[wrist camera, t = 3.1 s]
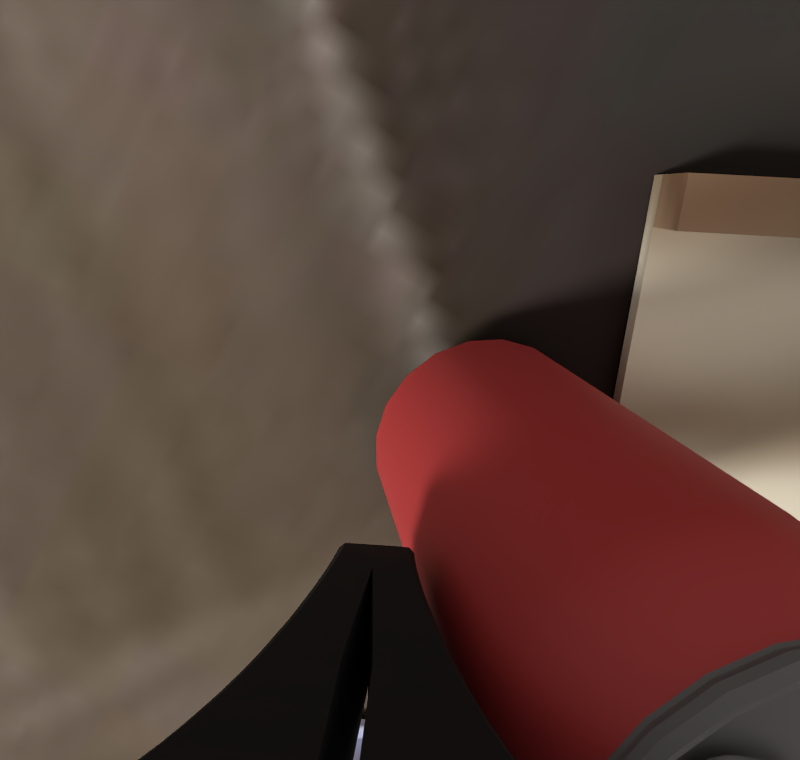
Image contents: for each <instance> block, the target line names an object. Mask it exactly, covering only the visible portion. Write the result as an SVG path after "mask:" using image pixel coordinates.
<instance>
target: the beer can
mask: <svg viewBox="0 0 800 760" xmlns="http://www.w3.org/2000/svg"><path fill="white" fill-rule="evenodd" d="M376 455H377V470H378V473H379V476H380V479H381V482H382V485H383V488H384V491H385V494H386V497H387V500H388V503H389V506H390V509H391V512H392V515H393V518H394V521H395V524H396V527H397V530H398V533H399V536H400V539H401V542H402V545H403V547H409V548H410V549H411V550H412V551H413V552H414V554H415V562H416V567H417V572H418V575H419V579H420V582H421V585H422V588H423V591H424V594H425V597H426V600H427V603H428V605H429V608H430V610H431V613H432V615H433V617H434V620H435V622H436V624H437V627H438V629H439V632H440V634H441V636H442V638H443V640H444V642H445V644H446V647H447V649H448V651H449V653H450V655H451V657H452V658H453V660H454V662H455V664H456V666H457V668H458V670H459V672H460V674H461V676H462V678H463V679H464V681H465V683H466V685H467V686H468V688H469V690H470V692H471V693H472V695H473V697H474V698H475V700H476V702H477V703H478V705H479V707H480V708H481V710H482V711H483V713H484V715H485V716H486V718H487V719H488V721H489V722H490V724H491V725H492V727H493V728H494V730H495V731H496V733H497V734H498V736H499V737H500V739H501V740H502V742H503V743H504V745H505V746H506V748H507V749H508V750H509V752H510V753H511V754H512V756H513V757H514V758H515V760H800V521H799V520H797V519H796V518H795V517H793V516H792V515H791V514H789V513H788V512H786V511H785V510H783V509H781V508H780V507H778V506H777V505H775V504H774V503H772V502H771V501H769V500H768V499H766V498H765V497H763V496H761V495H760V494H758V493H757V492H755V491H754V490H752V489H751V488H749V487H748V486H746V485H744V484H743V483H741V482H740V481H738V480H737V479H735V478H734V477H732V476H731V475H729V474H728V473H726V472H724V471H723V470H721V469H720V468H718V467H717V466H715V465H714V464H712V463H711V462H709V461H707V460H706V459H704V458H703V457H701V456H700V455H698V454H697V453H695V452H694V451H692V450H690V449H689V448H687V447H686V446H684V445H683V444H681V443H680V442H678V441H677V440H675V439H674V438H672V437H670V436H669V435H667V434H666V433H664V432H663V431H661V430H660V429H658V428H657V427H655V426H653V425H652V424H650V423H649V422H647V421H646V420H644V419H643V418H641V417H640V416H638V415H636V414H635V413H633V412H632V411H630V410H629V409H627V408H626V407H624V406H623V405H621V404H620V403H618V402H616V401H615V400H613V399H612V398H610V397H609V396H607V395H606V394H604V393H603V392H601V391H599V390H598V389H596V388H595V387H593V386H592V385H590V384H589V383H587V382H586V381H584V380H582V379H581V378H579V377H578V376H576V375H575V374H573V373H572V372H570V371H569V370H567V369H566V368H564V367H562V366H561V365H559V364H558V363H556V362H555V361H553V360H552V359H550V358H549V357H547V356H545V355H544V354H542V353H541V352H539V351H538V350H536V349H535V348H532V347H529V346H525V345H522V344H518V343H515V342H511V341H507V340H504V339H498V340H480V341H468V342H465V343H463V344H460V345H457V346H455V347H452V348H449V349H447V350H444V351H441V352H439V353H436V354H435V355H433V356H432V357H431V358H429V359H428V360H427V361H425V362H424V363H423V364H422V365H420V366H419V367H418V368H416V369H415V370H414V371H412V372H411V373H410V374H409V375H407V376H406V378H405V379H404V381H403V382H402V383H401V385H400V386H399V388H398V389H397V390H396V392H395V393H394V394H393V396H392V397H391V399H390V400H389V401H388V403H387V404H386V407H385V410H384V413H383V417H382V420H381V423H380V426H379V429H378V432H377V435H376Z"/></svg>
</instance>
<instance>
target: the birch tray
mask: <svg viewBox="0 0 800 760" xmlns="http://www.w3.org/2000/svg"><path fill="white" fill-rule="evenodd" d="M613 400H615V401H616V402H618V403H620V404H621V405H623V406H624V407H626V408H627V409H629V410H630V411H632V412H633V413H635V414H636V415H638V416H640V417H641V418H643V419H644V420H646V421H647V422H649V423H650V424H652V425H653V426H655V427H657V428H658V429H660V430H661V431H663V432H664V433H666V434H667V435H669V436H670V437H672V438H674V439H675V440H677V441H678V442H680V443H681V444H683V445H684V446H686V447H687V448H689V449H690V450H692V451H694V452H695V453H697V454H698V455H700V456H701V457H703V458H704V459H706V460H707V461H709V462H711V463H712V464H714V465H715V466H717V467H718V468H720V469H721V470H723V471H724V472H726V473H728V474H729V475H731V476H732V477H734V478H735V479H737V480H738V481H740V482H741V483H743V484H744V485H746V486H748V487H749V488H751V489H752V490H754V491H755V492H757V493H758V494H760V495H761V496H763V497H765V498H766V499H768V500H769V501H771V502H772V503H774V504H775V505H777V506H778V507H780V508H781V509H783V510H785V511H786V512H788V513H789V514H791V515H792V516H793V517H795V518H796V519H797V520H799V521H800V178H781V177H763V176H744V175H725V174H706V173H675V174H660V175H655V176H654V181H653V186H652V192H651V197H650V203H649V208H648V213H647V219H646V224H645V230H644V235H643V240H642V246H641V251H640V257H639V262H638V267H637V273H636V278H635V284H634V289H633V294H632V300H631V305H630V311H629V316H628V321H627V327H626V332H625V338H624V343H623V349H622V354H621V359H620V365H619V370H618V376H617V381H616V386H615V392H614V397H613Z"/></svg>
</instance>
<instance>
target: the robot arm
mask: <svg viewBox="0 0 800 760" xmlns="http://www.w3.org/2000/svg"><path fill="white" fill-rule="evenodd" d="M367 688H368V702H367V709H366V717H365V719H362V714H363V709H364V704H365V699H366V694H367ZM138 760H515V758H514V757H513V756H512V754H511V753H510V752H509V750H508V749H507V748H506V746H505V745H504V743H503V742H502V740H501V739H500V737H499V736H498V734H497V733H496V731H495V730H494V728H493V727H492V725H491V724H490V722H489V721H488V719H487V718H486V716H485V715H484V713H483V711H482V710H481V708H480V707H479V705H478V703H477V702H476V700H475V698H474V697H473V695H472V693H471V692H470V690H469V688H468V686H467V685H466V683H465V681H464V679H463V678H462V676H461V674H460V672H459V670H458V668H457V666H456V664H455V662H454V660H453V658H452V657H451V655H450V653H449V651H448V649H447V647H446V644H445V642H444V640H443V638H442V636H441V634H440V632H439V629H438V627H437V624H436V622H435V620H434V617H433V615H432V613H431V610H430V608H429V605H428V603H427V600H426V597H425V594H424V591H423V588H422V585H421V582H420V579H419V575H418V572H417V567H416V562H415V554H414V552H413V551H412V550H411V549H410V548H409V547H398V546H383V545H368V544H353V543H345V544H343V545H342V546H341V547H340V548H339V549H338V551H337V553H336V554H335V556H334V558H333V559H332V561H331V563H330V564H329V566H328V567H327V569H326V570H325V572H324V573H323V575H322V576H321V578H320V579H319V581H318V582H317V583H316V585H315V586H314V588H313V589H312V590H311V592H310V593H309V594H308V596H307V597H306V598H305V599H304V601H303V602H302V603H301V605H300V606H299V607H298V609H297V610H296V611H295V612H294V614H293V615H292V616H291V617H290V619H289V620H288V621H287V622H286V623H285V625H284V626H283V627H282V628H281V629H280V630H279V631H278V633H277V634H276V635H275V636H274V637H273V638H272V639H271V641H270V642H269V643H268V644H267V645H266V646H265V647H264V649H263V650H262V651H261V652H260V653H259V654H258V655H257V656H256V657H255V658H254V659H253V660H252V661H251V662H250V663H249V664H248V666H247V667H246V668H245V669H244V670H243V671H242V672H241V673H240V674H239V675H238V676H236V677H235V678H234V679H233V680H232V681H231V682H230V683H229V684H228V685H227V686H226V687H225V688H224V689H223V690H222V691H221V692H220V693H219V694H218V695H217V696H215V697H214V698H213V699H212V700H211V701H210V702H209V703H207V704H206V705H205V706H204V707H203V708H202V709H201V710H199V711H198V712H197V713H196V714H195V715H194V716H193V717H191V718H190V719H189V720H188V721H187V722H186V723H185V724H183V725H182V726H181V727H180V728H179V729H177V730H176V731H175V732H174V733H172V734H171V735H170V736H169V737H167V738H166V739H165V740H164V741H162V742H161V743H160V744H159V745H157V746H156V747H155V748H153V749H152V750H151V751H149V752H148V753H147V754H145V755H144V756H142V757H141V758H140V759H138Z"/></svg>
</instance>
